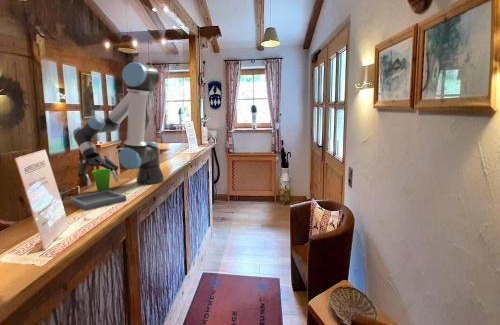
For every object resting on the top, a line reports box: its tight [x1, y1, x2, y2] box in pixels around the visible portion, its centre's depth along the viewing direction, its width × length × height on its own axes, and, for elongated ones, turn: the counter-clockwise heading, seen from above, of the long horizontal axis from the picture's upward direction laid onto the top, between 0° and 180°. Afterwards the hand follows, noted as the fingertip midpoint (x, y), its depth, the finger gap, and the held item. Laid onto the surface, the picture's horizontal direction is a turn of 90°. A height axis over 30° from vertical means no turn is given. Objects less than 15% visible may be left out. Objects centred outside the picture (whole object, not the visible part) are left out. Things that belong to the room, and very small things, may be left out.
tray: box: [69, 189, 127, 212], centre depth 147 cm, size 18×18×2 cm
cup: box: [91, 168, 112, 192], centre depth 166 cm, size 9×9×11 cm
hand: (104, 183), depth 165 cm, fingers open, 13 cm apart
